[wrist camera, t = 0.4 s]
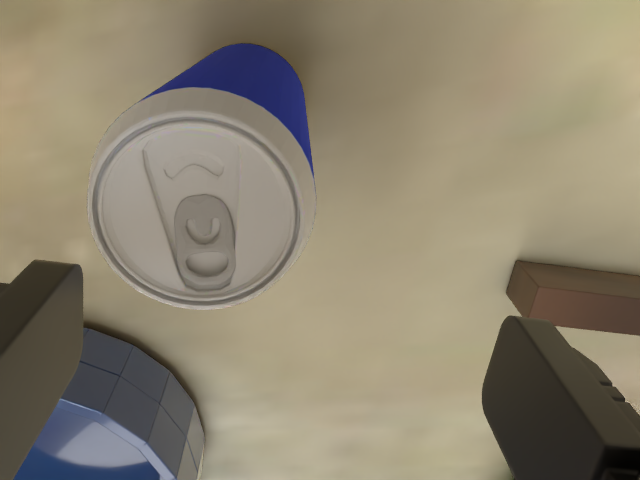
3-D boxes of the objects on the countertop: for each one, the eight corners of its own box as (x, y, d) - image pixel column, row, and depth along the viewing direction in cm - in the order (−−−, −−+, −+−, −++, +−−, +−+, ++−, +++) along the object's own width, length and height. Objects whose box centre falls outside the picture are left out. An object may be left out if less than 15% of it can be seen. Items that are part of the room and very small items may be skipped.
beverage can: (183, 45, 25) (47, 100, 11) (301, 39, 25) (312, 87, 11) (197, 160, 27) (98, 328, 13) (307, 155, 27) (322, 315, 13)
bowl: (-86, 302, 29) (-174, 373, 24) (216, 334, 31) (199, 408, 25) (-58, 521, 35) (-123, 619, 29) (195, 539, 36) (178, 636, 31)
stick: (505, 293, 31) (526, 323, 28) (515, 260, 30) (538, 286, 27) (662, 312, 31) (698, 343, 29) (676, 280, 31) (714, 308, 28)
